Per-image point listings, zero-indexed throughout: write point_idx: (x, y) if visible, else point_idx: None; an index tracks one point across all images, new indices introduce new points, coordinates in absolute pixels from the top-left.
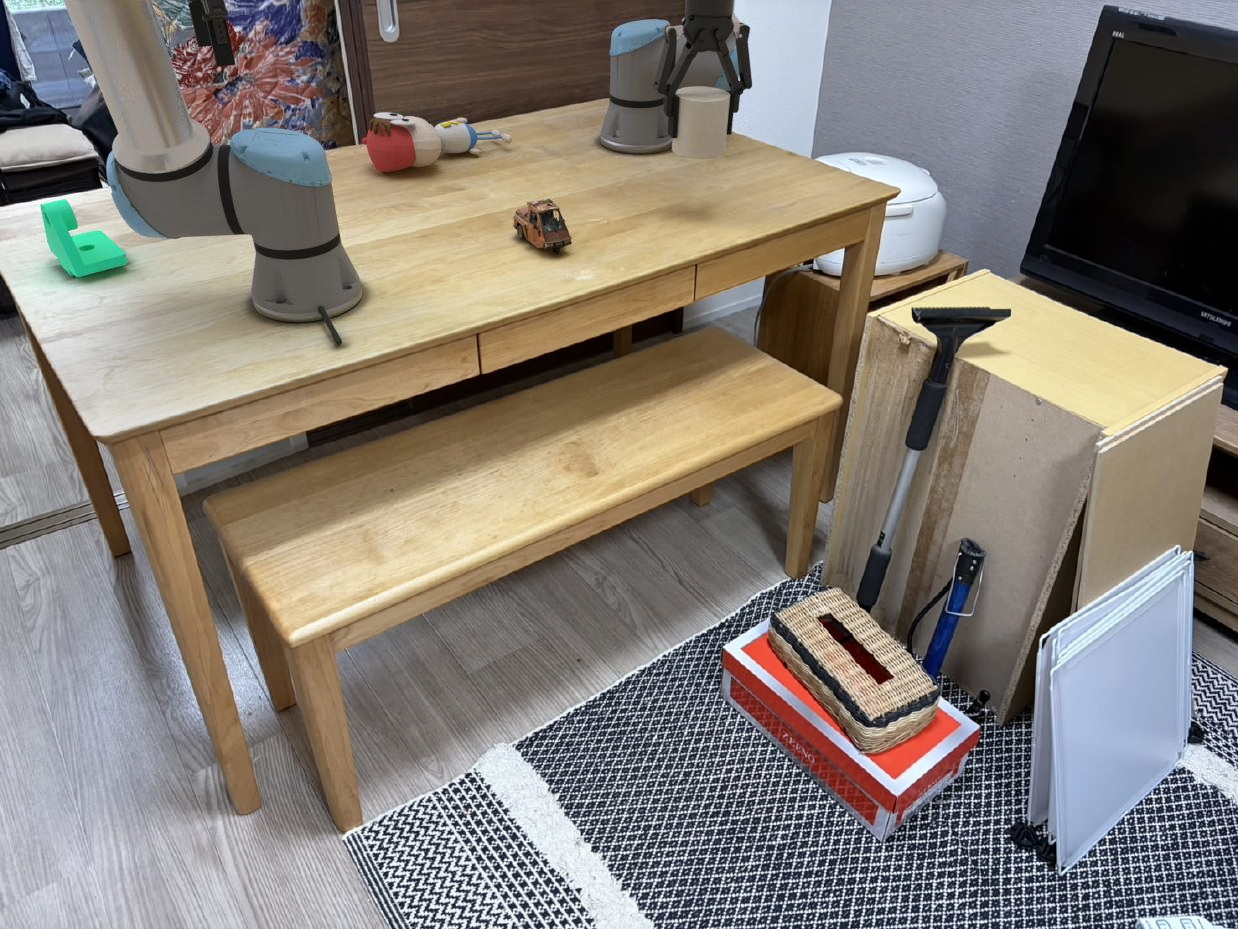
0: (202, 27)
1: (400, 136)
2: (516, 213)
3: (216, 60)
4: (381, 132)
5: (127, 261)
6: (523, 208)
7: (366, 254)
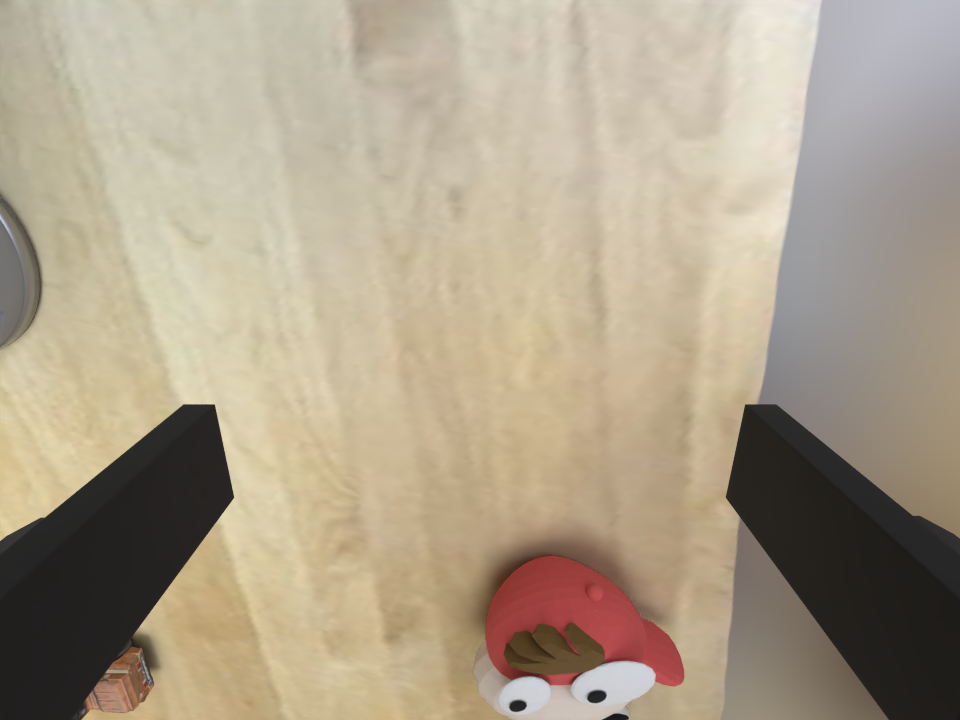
0: (802, 523)
1: (501, 659)
2: (121, 675)
3: (164, 424)
4: (515, 639)
5: None
6: (113, 692)
7: (127, 410)
